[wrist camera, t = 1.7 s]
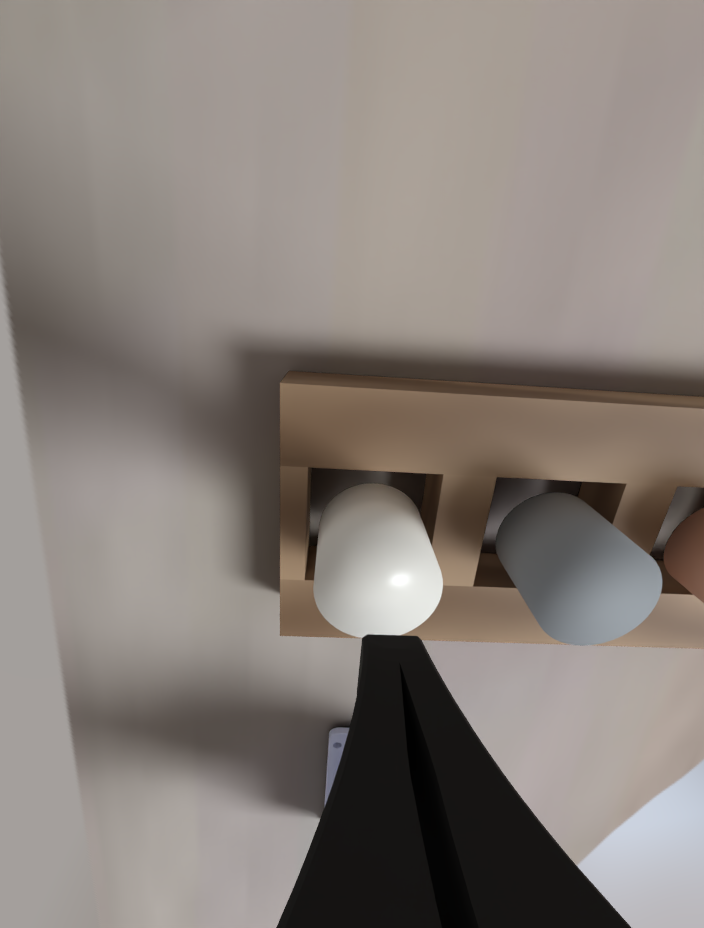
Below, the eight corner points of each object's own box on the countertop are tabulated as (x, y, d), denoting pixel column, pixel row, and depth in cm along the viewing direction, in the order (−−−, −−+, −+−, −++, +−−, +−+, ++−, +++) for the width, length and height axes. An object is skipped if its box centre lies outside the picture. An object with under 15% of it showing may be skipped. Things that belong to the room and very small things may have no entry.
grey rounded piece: (580, 580, 17) (638, 647, 14) (486, 577, 17) (522, 643, 13) (609, 494, 15) (681, 546, 12) (507, 489, 15) (552, 541, 12)
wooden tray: (694, 611, 21) (738, 649, 19) (287, 596, 20) (279, 635, 18) (795, 402, 17) (868, 418, 15) (288, 370, 16) (280, 383, 14)
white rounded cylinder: (415, 574, 17) (433, 641, 13) (317, 570, 16) (311, 637, 13) (428, 485, 15) (452, 536, 12) (321, 480, 15) (315, 530, 12)
